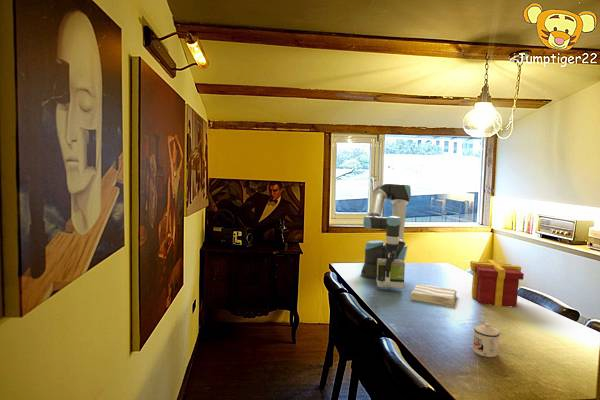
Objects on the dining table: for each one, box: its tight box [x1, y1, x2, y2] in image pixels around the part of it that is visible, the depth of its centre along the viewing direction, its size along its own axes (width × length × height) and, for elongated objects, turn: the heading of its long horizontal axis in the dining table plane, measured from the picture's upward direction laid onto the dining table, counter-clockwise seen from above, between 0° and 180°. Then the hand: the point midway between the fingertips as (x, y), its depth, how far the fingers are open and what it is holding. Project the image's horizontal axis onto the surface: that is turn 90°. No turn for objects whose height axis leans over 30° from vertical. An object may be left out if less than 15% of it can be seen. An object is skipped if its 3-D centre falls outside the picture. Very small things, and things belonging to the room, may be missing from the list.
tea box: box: [376, 258, 406, 289], centre depth 234 cm, size 15×10×15 cm
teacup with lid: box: [472, 322, 500, 358], centre depth 156 cm, size 12×9×12 cm
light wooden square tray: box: [410, 283, 457, 307], centre depth 224 cm, size 20×22×4 cm
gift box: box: [469, 259, 524, 308], centre depth 225 cm, size 25×25×20 cm
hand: (389, 279), depth 235 cm, fingers closed on tea box, 11 cm apart
